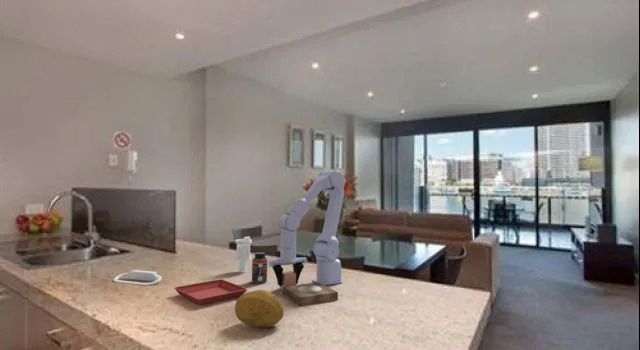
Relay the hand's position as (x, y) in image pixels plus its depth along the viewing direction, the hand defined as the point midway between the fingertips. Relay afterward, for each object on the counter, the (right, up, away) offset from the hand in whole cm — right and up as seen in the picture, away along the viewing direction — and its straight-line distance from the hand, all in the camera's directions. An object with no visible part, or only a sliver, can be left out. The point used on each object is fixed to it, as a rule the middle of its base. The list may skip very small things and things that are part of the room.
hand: (287, 284), depth 135 cm
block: (0, -2, 0) cm, 2 cm away
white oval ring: (-59, -2, +8) cm, 59 cm away
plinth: (+8, -1, -9) cm, 12 cm away
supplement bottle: (-12, -2, +9) cm, 15 cm away
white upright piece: (-22, -2, +26) cm, 34 cm away
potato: (-5, -1, -36) cm, 36 cm away
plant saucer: (-25, -2, -10) cm, 27 cm away
